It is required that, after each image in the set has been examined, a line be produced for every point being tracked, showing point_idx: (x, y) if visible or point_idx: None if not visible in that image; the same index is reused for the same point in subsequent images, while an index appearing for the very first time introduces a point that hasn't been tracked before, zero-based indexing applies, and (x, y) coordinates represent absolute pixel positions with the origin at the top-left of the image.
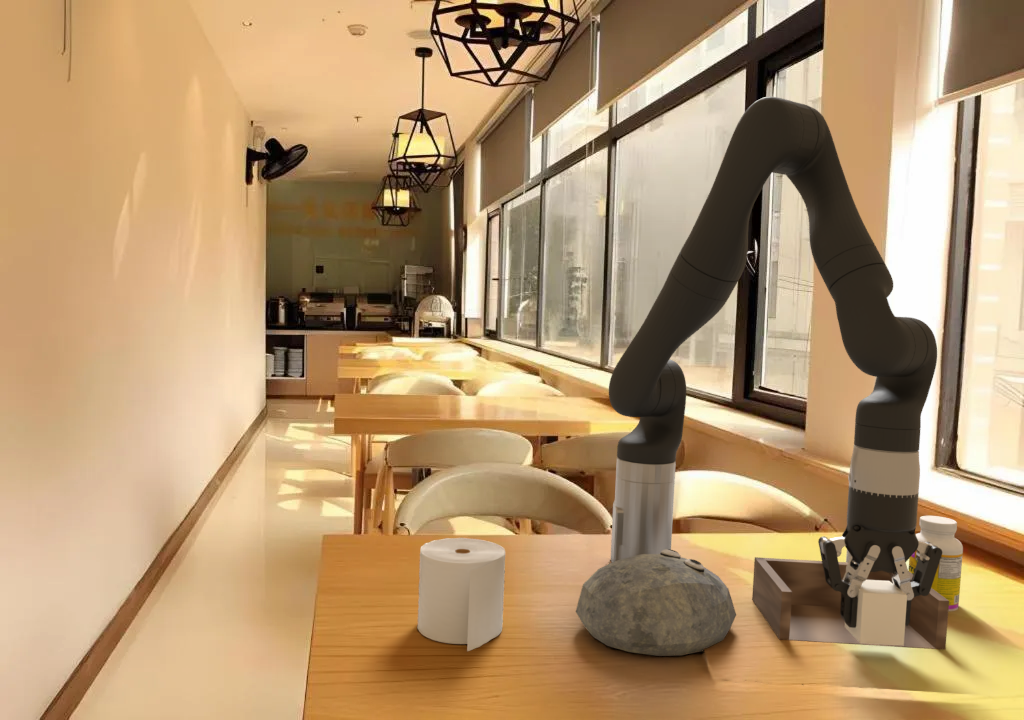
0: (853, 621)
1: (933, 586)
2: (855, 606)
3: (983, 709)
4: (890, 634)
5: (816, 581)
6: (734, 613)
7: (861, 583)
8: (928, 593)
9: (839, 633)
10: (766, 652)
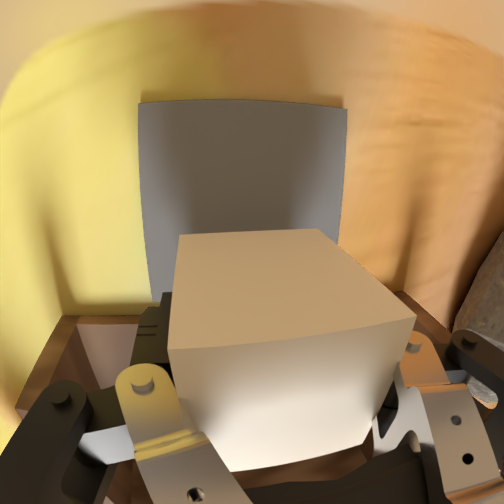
0: None
1: None
2: None
3: (80, 36)
4: (228, 244)
5: (277, 482)
6: (477, 320)
7: (407, 380)
8: (47, 388)
9: None
10: (433, 255)
